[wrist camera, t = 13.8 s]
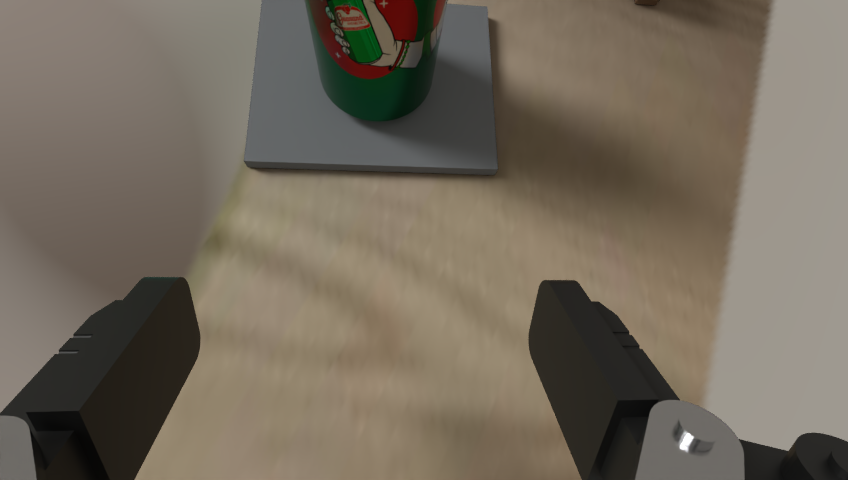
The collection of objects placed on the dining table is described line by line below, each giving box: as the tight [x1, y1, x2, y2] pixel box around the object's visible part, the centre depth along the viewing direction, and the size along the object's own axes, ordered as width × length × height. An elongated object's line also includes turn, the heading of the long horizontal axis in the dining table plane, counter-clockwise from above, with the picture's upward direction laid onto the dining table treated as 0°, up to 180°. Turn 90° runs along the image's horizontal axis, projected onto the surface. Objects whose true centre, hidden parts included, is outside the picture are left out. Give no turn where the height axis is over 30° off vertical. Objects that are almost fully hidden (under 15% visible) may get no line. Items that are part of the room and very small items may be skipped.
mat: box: [244, 0, 498, 175], centre depth 21 cm, size 11×9×1 cm
